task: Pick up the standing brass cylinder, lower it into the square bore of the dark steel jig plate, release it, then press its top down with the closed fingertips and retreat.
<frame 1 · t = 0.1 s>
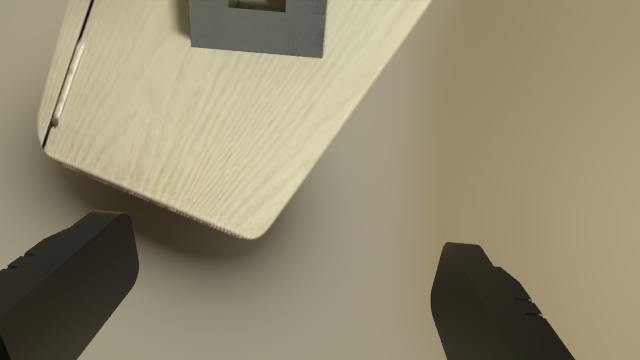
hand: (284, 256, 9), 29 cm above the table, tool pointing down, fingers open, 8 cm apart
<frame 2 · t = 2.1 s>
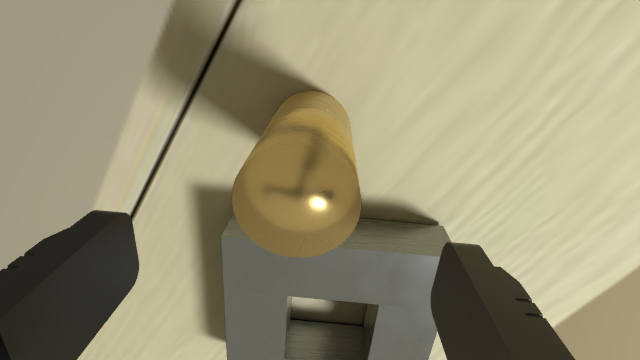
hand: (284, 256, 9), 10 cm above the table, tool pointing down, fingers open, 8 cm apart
jig: (330, 295, 23), on the table
brass cylinder: (311, 130, 18), on the table
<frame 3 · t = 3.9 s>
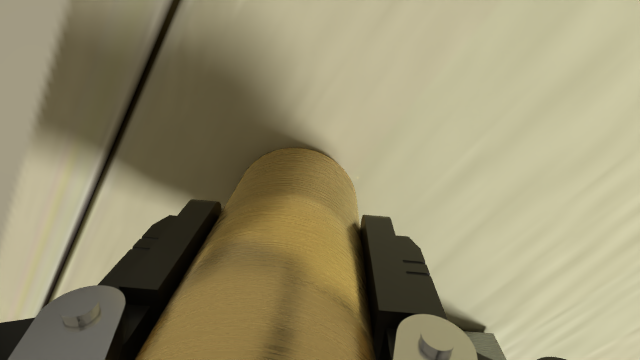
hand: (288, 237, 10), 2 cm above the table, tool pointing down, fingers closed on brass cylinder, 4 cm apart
brass cylinder: (296, 204, 12), on the table, touching gripper
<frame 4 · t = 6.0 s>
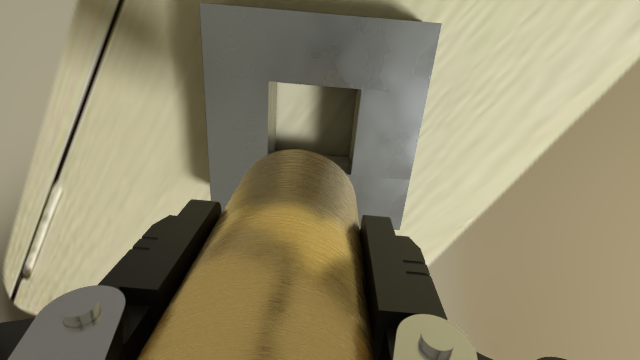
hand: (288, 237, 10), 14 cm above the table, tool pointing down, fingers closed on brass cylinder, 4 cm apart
jig: (314, 117, 22), on the table
brass cylinder: (296, 205, 12), point 12 cm above the table, touching gripper
when the fingers open (3 cm above the table, at t = 8.1 s): brass cylinder drops 1 cm, resting in jig.
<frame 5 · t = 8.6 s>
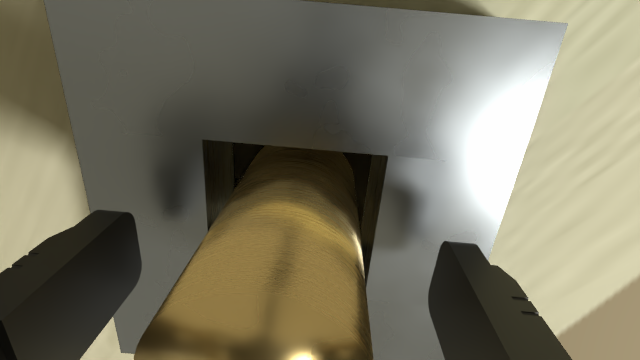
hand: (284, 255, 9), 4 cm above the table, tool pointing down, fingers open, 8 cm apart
jig: (300, 185, 13), on the table
brass cylinder: (301, 185, 13), resting in jig
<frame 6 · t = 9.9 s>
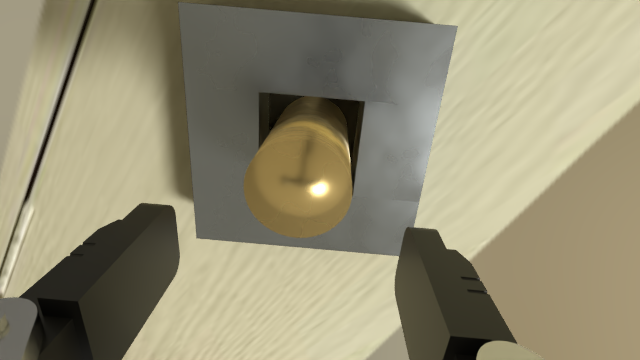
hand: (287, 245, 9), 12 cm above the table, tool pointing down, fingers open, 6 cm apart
jig: (312, 130, 20), on the table
brass cylinder: (312, 131, 20), resting in jig
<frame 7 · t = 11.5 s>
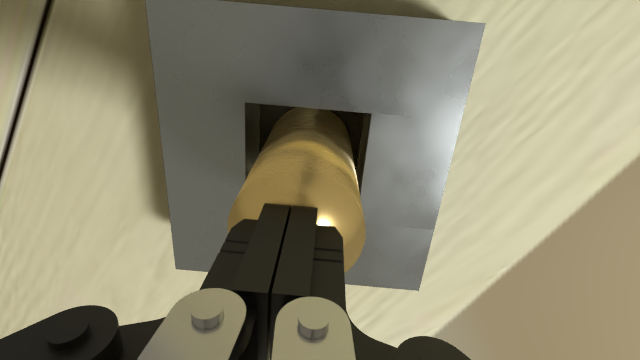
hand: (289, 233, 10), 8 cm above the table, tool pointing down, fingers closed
jig: (309, 144, 17), on the table
brass cylinder: (309, 145, 17), resting in jig, touching gripper
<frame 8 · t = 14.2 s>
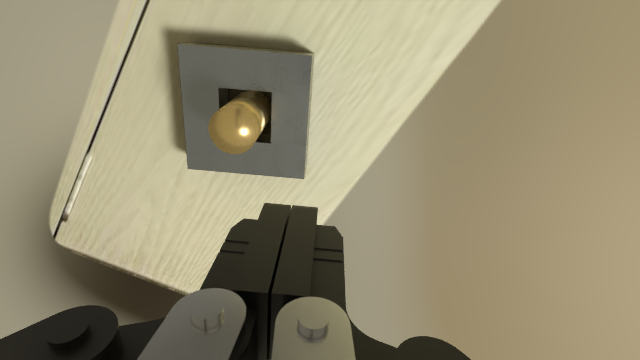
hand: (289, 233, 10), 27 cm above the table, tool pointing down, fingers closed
jig: (252, 109, 36), on the table
brass cylinder: (252, 109, 36), resting in jig
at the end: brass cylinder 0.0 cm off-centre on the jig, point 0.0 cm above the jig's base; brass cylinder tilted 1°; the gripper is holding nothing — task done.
